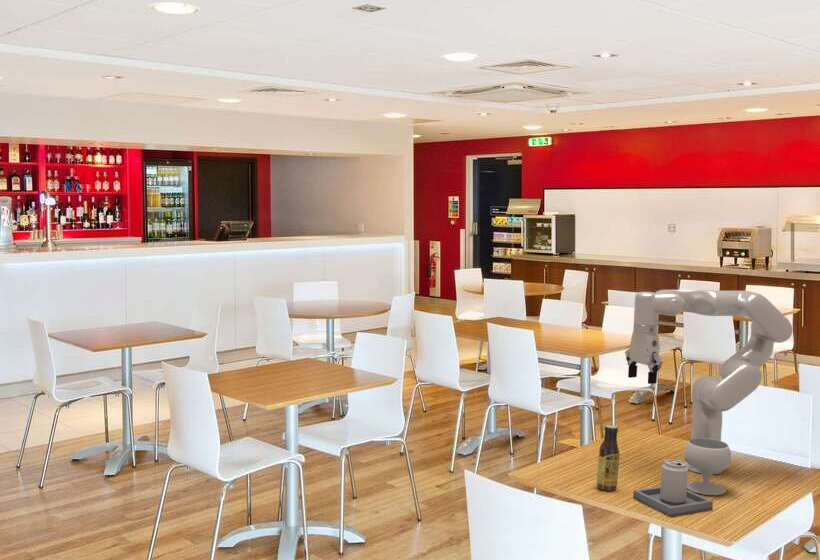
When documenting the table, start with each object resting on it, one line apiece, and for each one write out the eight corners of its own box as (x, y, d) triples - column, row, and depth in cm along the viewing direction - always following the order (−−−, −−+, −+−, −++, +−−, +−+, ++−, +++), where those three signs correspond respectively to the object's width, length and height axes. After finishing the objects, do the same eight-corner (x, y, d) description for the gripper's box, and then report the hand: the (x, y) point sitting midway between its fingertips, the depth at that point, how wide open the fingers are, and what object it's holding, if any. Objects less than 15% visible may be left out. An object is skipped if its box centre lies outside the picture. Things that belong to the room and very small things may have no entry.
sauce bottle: (605, 493, 264) (608, 430, 262) (592, 486, 270) (595, 424, 268) (621, 490, 267) (625, 427, 265) (608, 484, 273) (611, 422, 271)
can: (688, 506, 253) (690, 466, 252) (661, 504, 254) (664, 464, 253) (683, 497, 260) (685, 458, 259) (657, 495, 261) (660, 457, 260)
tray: (673, 491, 268) (674, 484, 267) (712, 509, 253) (712, 501, 253) (633, 498, 261) (633, 490, 260) (670, 517, 246) (670, 508, 246)
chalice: (704, 480, 280) (707, 435, 278) (738, 493, 267) (742, 446, 266) (672, 485, 273) (675, 439, 272) (705, 500, 261) (709, 451, 260)
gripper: (672, 333, 278) (669, 385, 280) (636, 325, 293) (633, 374, 295) (654, 334, 275) (651, 386, 276) (619, 325, 290) (616, 375, 292)
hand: (642, 380), depth 286 cm, fingers open, 9 cm apart
